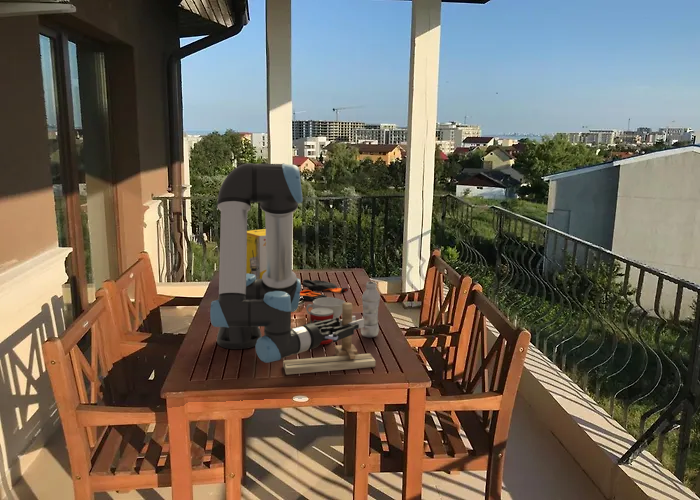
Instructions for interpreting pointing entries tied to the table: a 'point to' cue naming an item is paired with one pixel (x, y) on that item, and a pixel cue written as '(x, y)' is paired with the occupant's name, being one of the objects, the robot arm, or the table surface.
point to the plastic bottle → (370, 310)
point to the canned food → (321, 318)
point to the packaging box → (256, 253)
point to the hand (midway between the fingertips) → (358, 321)
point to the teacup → (328, 305)
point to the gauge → (346, 342)
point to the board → (328, 363)
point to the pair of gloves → (321, 287)
